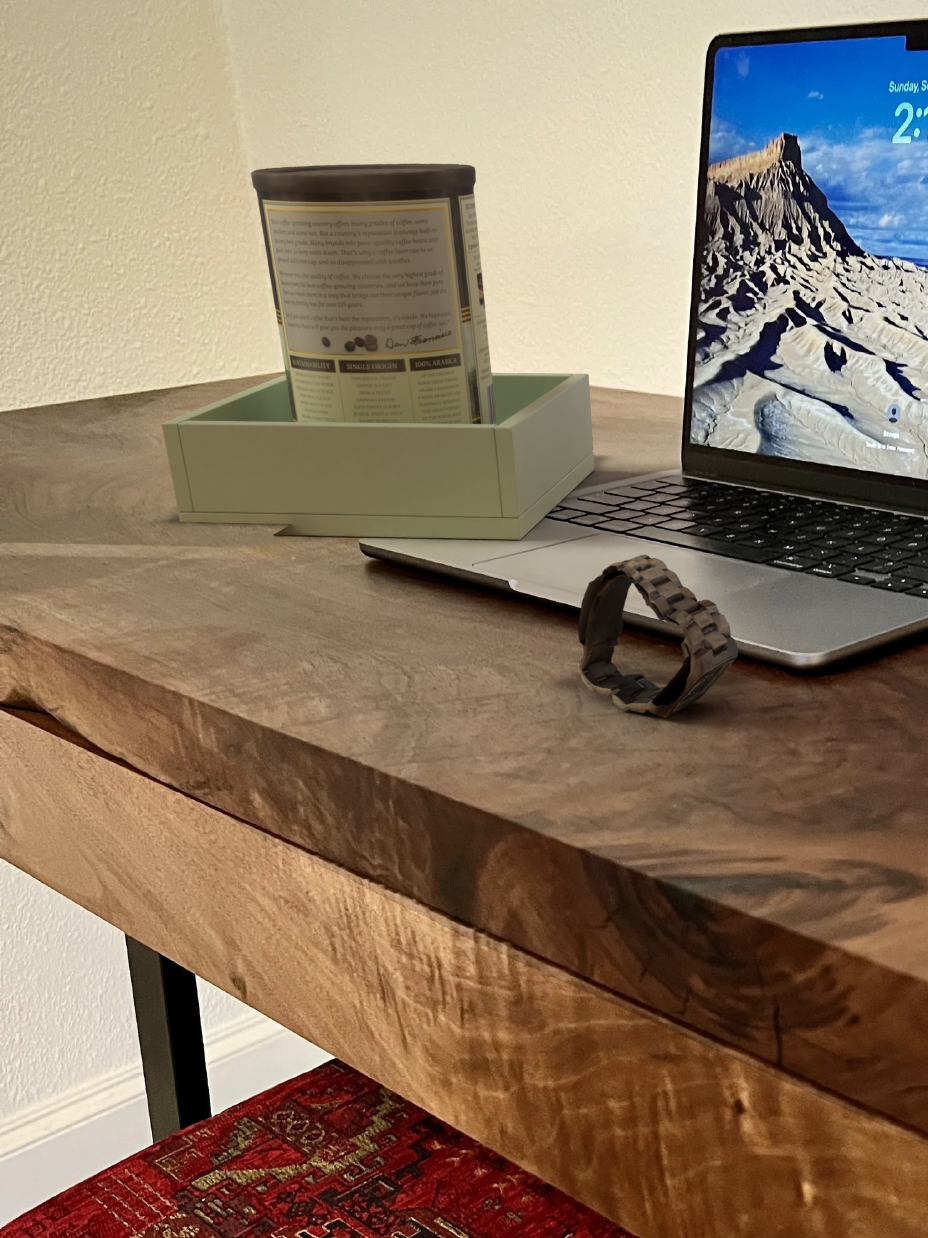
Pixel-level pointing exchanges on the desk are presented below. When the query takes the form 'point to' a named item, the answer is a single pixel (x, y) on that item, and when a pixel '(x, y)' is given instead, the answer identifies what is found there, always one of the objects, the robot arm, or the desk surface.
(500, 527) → the drawer tray
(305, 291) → the coffee can
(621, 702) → the wristwatch
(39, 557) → the desk surface
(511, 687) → the desk surface
